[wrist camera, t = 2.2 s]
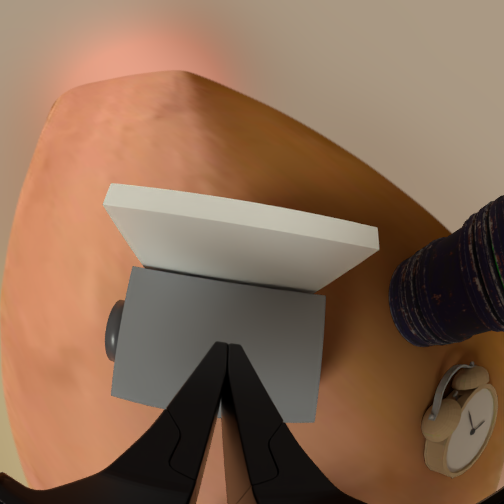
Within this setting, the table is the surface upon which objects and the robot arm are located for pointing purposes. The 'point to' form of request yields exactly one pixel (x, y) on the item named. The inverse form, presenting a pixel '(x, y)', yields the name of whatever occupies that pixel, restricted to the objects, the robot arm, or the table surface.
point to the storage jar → (453, 283)
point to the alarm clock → (459, 421)
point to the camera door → (237, 239)
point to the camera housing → (214, 338)
